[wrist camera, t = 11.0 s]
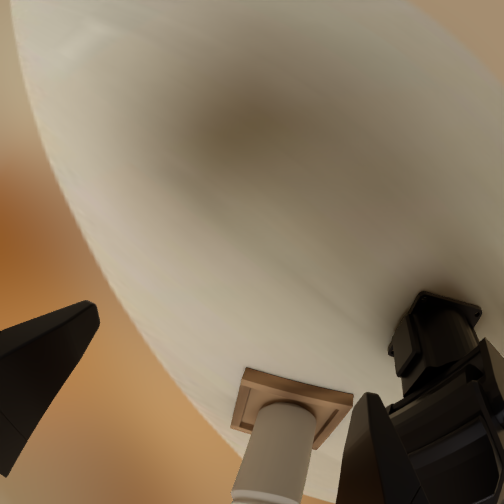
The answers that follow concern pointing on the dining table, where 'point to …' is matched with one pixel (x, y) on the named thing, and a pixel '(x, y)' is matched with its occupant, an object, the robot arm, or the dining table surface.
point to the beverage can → (276, 456)
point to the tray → (283, 390)
